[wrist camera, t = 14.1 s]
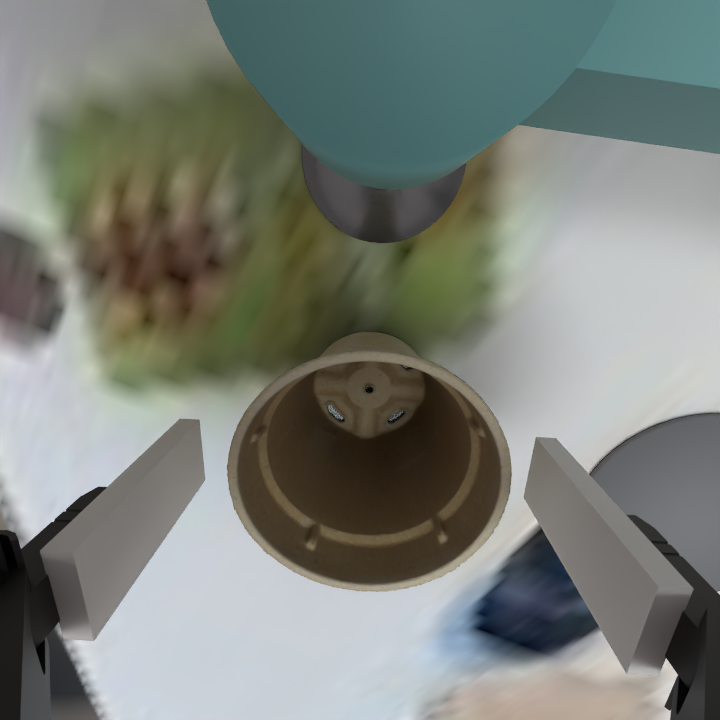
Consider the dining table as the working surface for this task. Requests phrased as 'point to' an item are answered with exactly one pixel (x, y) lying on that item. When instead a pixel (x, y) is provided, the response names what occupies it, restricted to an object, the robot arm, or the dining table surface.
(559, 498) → the robot arm
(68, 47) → the dining table surface
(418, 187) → the grey pedestal stand
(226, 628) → the dining table surface
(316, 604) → the dining table surface
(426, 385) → the flower pot
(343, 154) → the teal paddle stick
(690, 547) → the pad
